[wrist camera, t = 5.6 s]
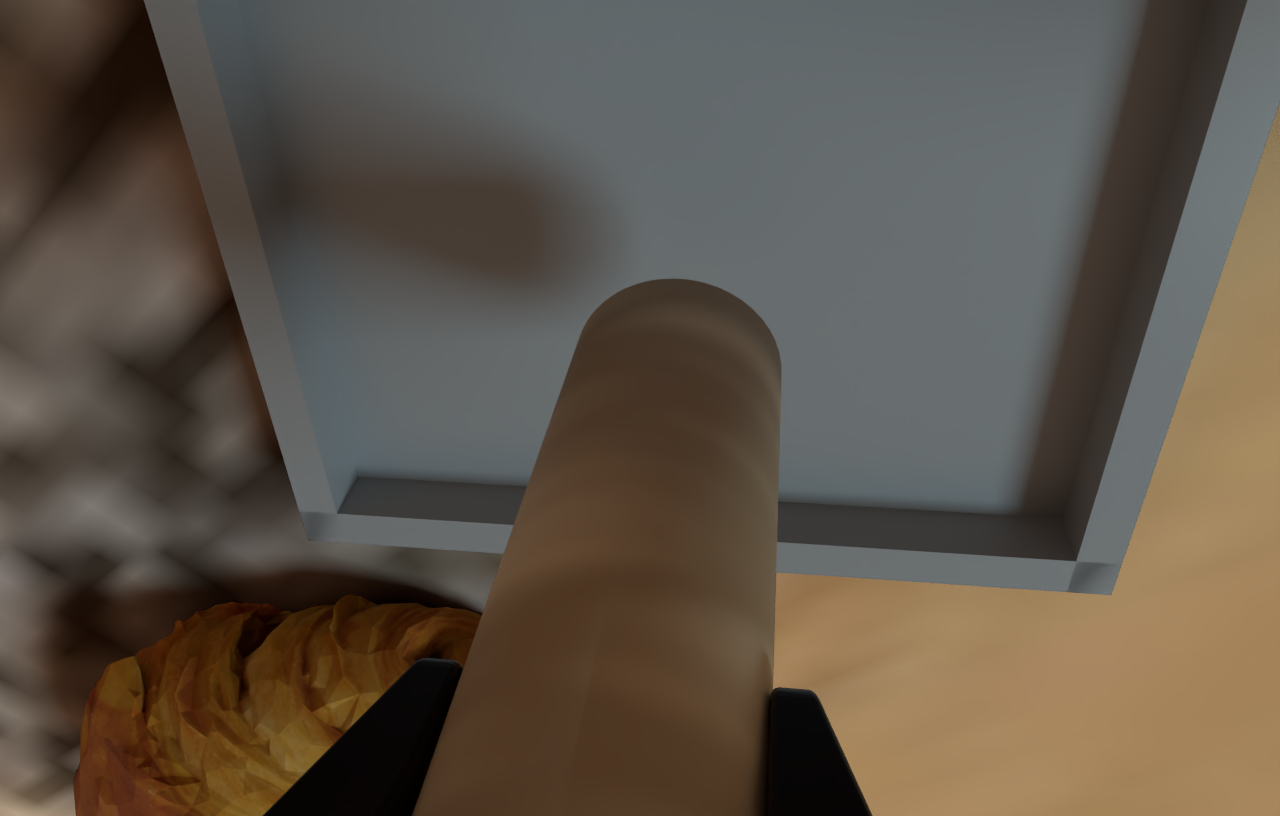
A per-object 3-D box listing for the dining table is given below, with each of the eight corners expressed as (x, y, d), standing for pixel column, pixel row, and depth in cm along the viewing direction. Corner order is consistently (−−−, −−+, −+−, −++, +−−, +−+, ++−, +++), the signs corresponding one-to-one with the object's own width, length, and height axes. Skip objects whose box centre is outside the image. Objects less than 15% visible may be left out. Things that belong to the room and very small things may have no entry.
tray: (1281, -142, 14) (1354, -118, 12) (1083, 518, 20) (1110, 595, 19) (192, -120, 16) (114, -98, 14) (346, 474, 22) (308, 540, 21)
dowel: (787, 282, 13) (761, 1451, 4) (776, 457, 15) (741, 1551, 6) (568, 275, 14) (135, 1335, 5) (582, 447, 15) (283, 1461, 6)
